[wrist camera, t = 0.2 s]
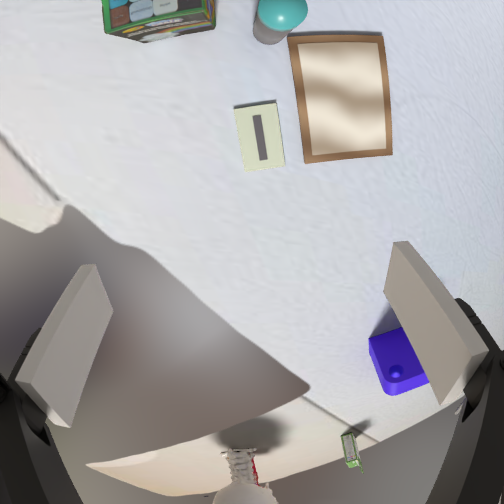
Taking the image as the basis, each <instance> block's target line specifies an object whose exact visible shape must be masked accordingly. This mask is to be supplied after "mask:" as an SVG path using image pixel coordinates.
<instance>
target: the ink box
mask: <svg viewBox="0 0 504 504" xmlns="http://www.w3.org/2000/svg"><path fill="white" fill-rule="evenodd" d="M341 441H342V446H343V451H344V456H345V461H346V464H347V465H348V466H349V467H350V468H351V467H355V466H358V465H359V468H360V470H361V472H362V473H363V468H362V469H361V467H362V464H361V460H360V456H359V452H358V447H357V443H356V439H355V437H354V435H353V433H349V434H346V435H342V436H341ZM360 466H361V467H360Z"/></svg>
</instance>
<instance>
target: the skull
mask: <svg viewBox="0 0 504 504" xmlns="http://www.w3.org/2000/svg"><path fill="white" fill-rule="evenodd" d="M256 449H257V448H250V449H233V450H232V449H231V448H230V449H229V452H224V453H221V454H220V455H221V456H228V457H226V460H228V463H229V464H230V465H229V468H230V469H231V471H230V473H231V474H232V476H231V479H232V481H233V482H232V483H231V484H229V485H228V486H226V487H224V488H223V489H221V490H220V491H218V492H217V494H216V495H215V497H214V500H213V503H212V504H278V502H277V501H276V498H275V497H273V496H272V490H271V489H269V483H266V485H265V488H263V487H262V486H259V485H258V475H257V472H256V468H255V464H254V460H253V457H254V456H255V453H252V451H256ZM234 451H240V452H234ZM247 452H250V453H249V454H247ZM252 472H253V474H252ZM253 478H254V479H253ZM256 483H257V484H256Z"/></svg>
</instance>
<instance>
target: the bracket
mask: <svg viewBox="0 0 504 504" xmlns="http://www.w3.org/2000/svg"><path fill="white" fill-rule="evenodd" d="M369 353H370V356H371V358H372V361H373V364H374V366H375V369H376V372H377V374H378V377H379V380H380V383H381V385H382V388H383V391H384V392H385V393H386V394H388V395H391V396H394V395H398V394H401V393H404V392H407V391H409V390H412V389H414V388H417V387H420V386H422V385H425V384H427V383H429V380H428V378H427V376H426V374H425V372H424V370H423V367H422V365H421V363H420V361H419V359H418V357H417V355H416V353H415V351H414V349H413V347H412V345H411V343H410V341H409V339H408V337H407V335H406V333H405V331H404V329H403V327H401V328H398V329H396V330H393V331H390V332H387V333H384V334H381V335H378V336H375V337H372V338H369Z"/></svg>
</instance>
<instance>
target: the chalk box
mask: <svg viewBox="0 0 504 504" xmlns="http://www.w3.org/2000/svg"><path fill="white" fill-rule="evenodd" d="M102 14H103V23H104V32H105V33H106V34H110V35H115V36H120V37H124V38H128V39H132V40H136V41H139V42H142V43H148V42H152V41H156V40H161V39H166V38H170V37H175V36H180V35H184V34H191V33H197V32H203V31H208V30H213V29H215V26H216V24H215V12H214V0H102Z"/></svg>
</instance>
